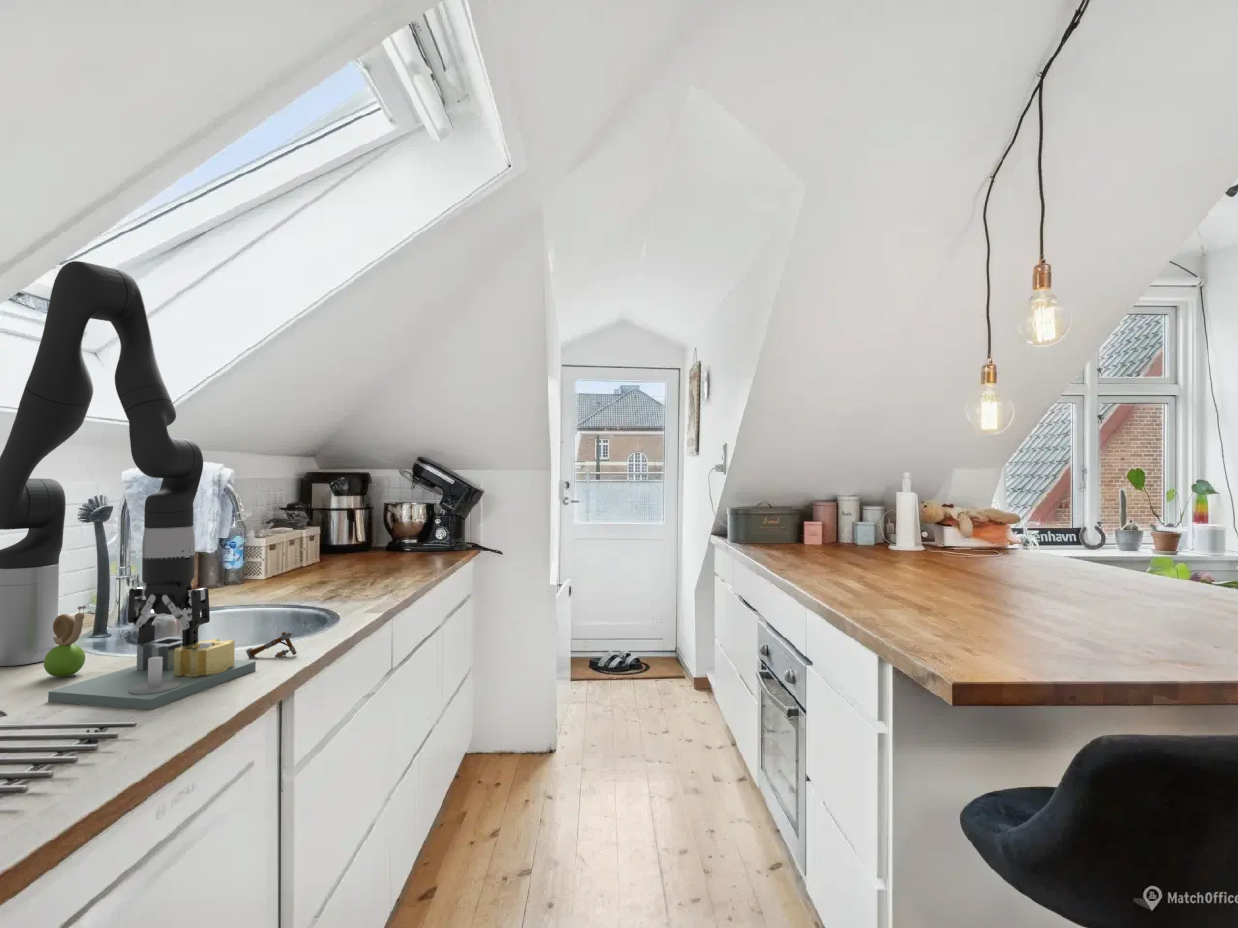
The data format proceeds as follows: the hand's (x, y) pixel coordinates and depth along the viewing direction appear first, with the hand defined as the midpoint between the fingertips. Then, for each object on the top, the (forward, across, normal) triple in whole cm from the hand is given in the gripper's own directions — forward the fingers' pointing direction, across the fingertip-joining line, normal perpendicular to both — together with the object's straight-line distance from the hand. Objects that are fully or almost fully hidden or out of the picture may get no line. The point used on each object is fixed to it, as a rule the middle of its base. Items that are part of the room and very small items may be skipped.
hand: (168, 649), depth 116 cm
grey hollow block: (+3, 0, 0) cm, 3 cm away
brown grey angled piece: (+5, +9, +14) cm, 17 cm away
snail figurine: (+4, -15, -5) cm, 17 cm away
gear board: (+4, +4, -5) cm, 8 cm away
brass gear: (+3, +9, -1) cm, 9 cm away
